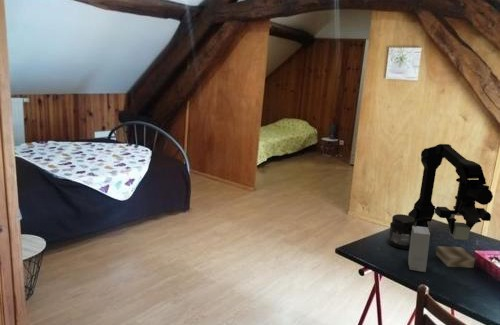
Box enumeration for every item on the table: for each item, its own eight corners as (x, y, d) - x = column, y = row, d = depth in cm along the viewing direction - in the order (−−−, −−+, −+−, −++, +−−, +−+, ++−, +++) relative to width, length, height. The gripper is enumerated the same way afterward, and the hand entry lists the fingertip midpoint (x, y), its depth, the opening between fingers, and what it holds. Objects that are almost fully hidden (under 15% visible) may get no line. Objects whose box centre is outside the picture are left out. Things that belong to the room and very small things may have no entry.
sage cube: (454, 239, 152) (456, 226, 151) (449, 233, 157) (451, 221, 156) (467, 239, 152) (470, 227, 151) (462, 234, 157) (464, 222, 156)
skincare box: (425, 272, 146) (431, 235, 143) (408, 269, 148) (413, 232, 144) (423, 262, 154) (429, 226, 150) (406, 259, 156) (412, 224, 152)
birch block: (447, 267, 152) (448, 257, 151) (435, 255, 162) (436, 246, 161) (473, 268, 152) (475, 258, 151) (459, 256, 162) (461, 247, 161)
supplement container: (399, 237, 176) (403, 212, 173) (419, 247, 167) (423, 220, 164) (382, 241, 171) (385, 215, 169) (401, 252, 162) (405, 224, 160)
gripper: (449, 201, 143) (442, 241, 147) (502, 204, 142) (494, 244, 146) (437, 192, 154) (431, 229, 158) (486, 195, 153) (479, 232, 157)
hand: (458, 234), depth 154 cm, fingers closed on sage cube, 5 cm apart
